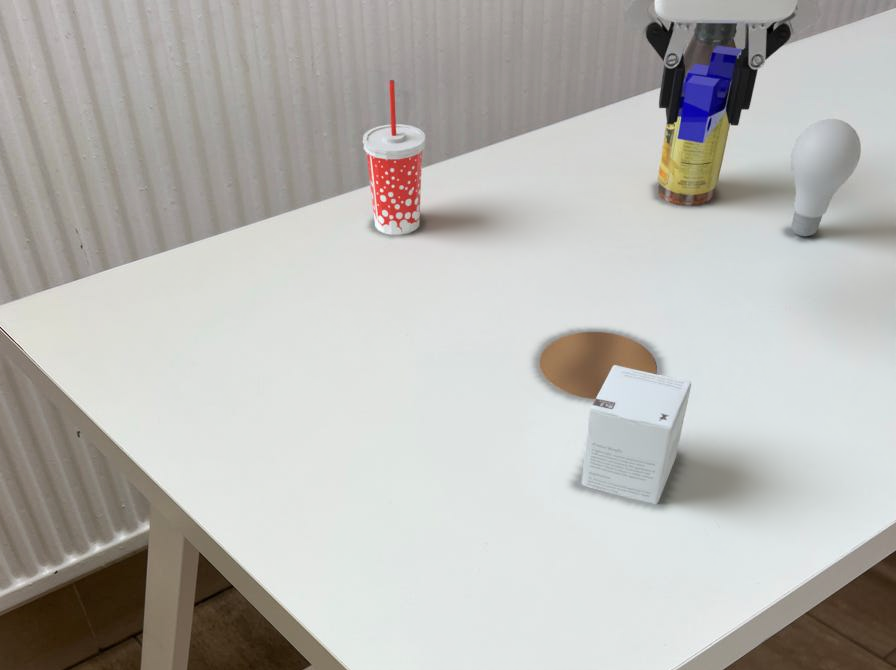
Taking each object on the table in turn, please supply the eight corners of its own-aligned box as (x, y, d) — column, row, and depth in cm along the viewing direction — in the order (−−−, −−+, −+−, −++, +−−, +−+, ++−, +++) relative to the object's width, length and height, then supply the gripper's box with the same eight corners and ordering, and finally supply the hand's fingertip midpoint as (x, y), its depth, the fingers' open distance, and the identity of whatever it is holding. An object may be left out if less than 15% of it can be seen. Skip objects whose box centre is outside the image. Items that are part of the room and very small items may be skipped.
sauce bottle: (664, 178, 106) (700, -34, 91) (721, 189, 105) (767, -27, 89) (646, 204, 103) (681, -13, 88) (704, 216, 101) (750, -4, 86)
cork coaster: (634, 329, 88) (635, 325, 87) (671, 394, 81) (672, 390, 81) (527, 342, 87) (527, 338, 86) (555, 409, 80) (556, 405, 80)
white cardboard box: (676, 459, 76) (694, 379, 70) (656, 508, 72) (674, 428, 67) (600, 441, 77) (612, 361, 72) (577, 488, 74) (588, 408, 68)
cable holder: (689, 97, 80) (698, 42, 77) (731, 104, 78) (742, 49, 75) (658, 135, 75) (667, 79, 72) (702, 143, 74) (713, 86, 71)
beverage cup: (438, 230, 100) (437, 83, 89) (387, 247, 98) (380, 99, 88) (407, 207, 104) (402, 63, 93) (357, 223, 102) (347, 77, 91)
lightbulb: (773, 218, 100) (803, 104, 92) (835, 226, 99) (871, 112, 90) (767, 246, 96) (797, 131, 88) (831, 255, 95) (868, 139, 87)
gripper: (880, -196, 64) (804, 100, 78) (623, -193, 66) (593, 97, 80) (903, -171, 59) (817, 140, 73) (625, -168, 61) (593, 136, 75)
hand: (701, 115), depth 76 cm, fingers closed on cable holder, 4 cm apart
